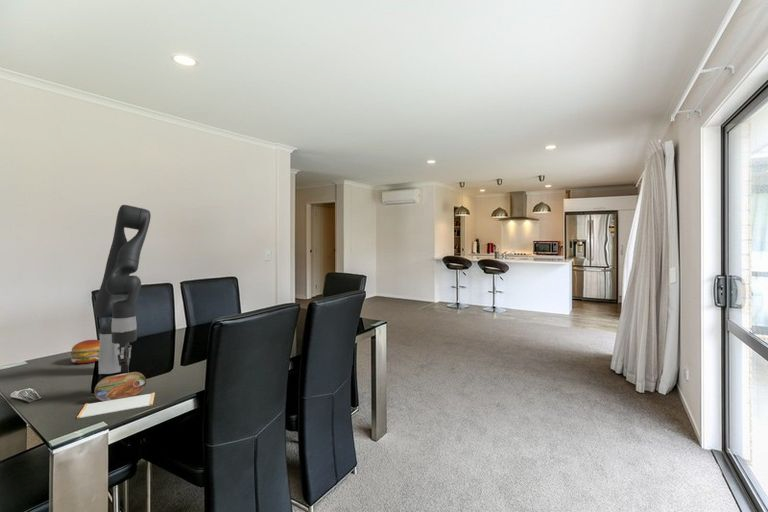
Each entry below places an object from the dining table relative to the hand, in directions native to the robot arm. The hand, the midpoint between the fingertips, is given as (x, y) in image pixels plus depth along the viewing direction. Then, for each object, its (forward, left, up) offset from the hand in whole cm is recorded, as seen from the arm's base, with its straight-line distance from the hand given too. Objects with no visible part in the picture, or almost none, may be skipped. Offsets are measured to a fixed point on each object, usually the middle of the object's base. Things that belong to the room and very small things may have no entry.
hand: (124, 375), depth 131 cm
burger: (-21, +55, -7) cm, 60 cm away
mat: (0, -12, -7) cm, 14 cm away
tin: (-1, -4, -7) cm, 8 cm away
